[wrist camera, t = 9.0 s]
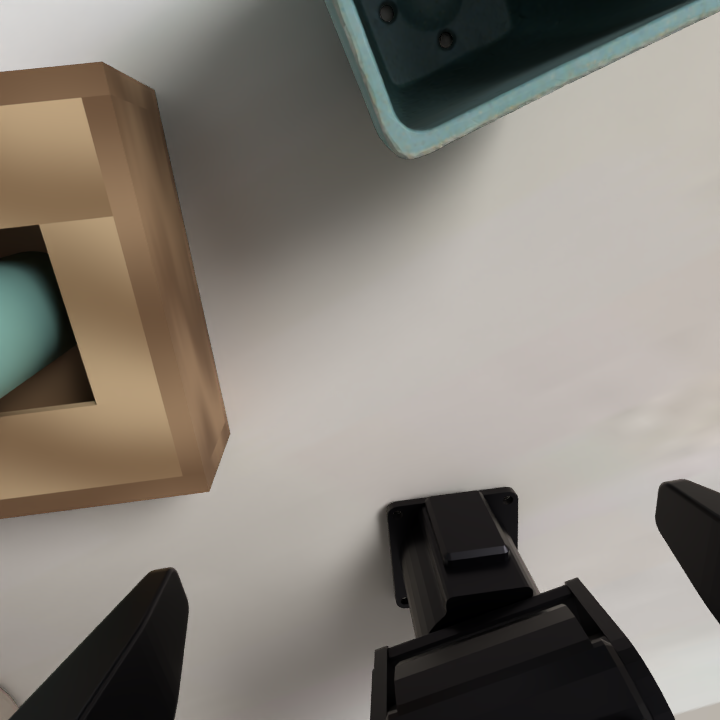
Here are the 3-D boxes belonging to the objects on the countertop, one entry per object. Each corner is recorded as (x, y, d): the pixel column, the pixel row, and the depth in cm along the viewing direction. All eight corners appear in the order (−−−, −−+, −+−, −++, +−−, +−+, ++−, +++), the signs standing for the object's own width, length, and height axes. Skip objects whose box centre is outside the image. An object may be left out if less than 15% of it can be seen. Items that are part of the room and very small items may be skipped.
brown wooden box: (230, 433, 23) (209, 491, 18) (-37, 467, 22) (-121, 534, 18) (154, 89, 18) (101, 61, 13) (-191, 125, 17) (-356, 107, 13)
